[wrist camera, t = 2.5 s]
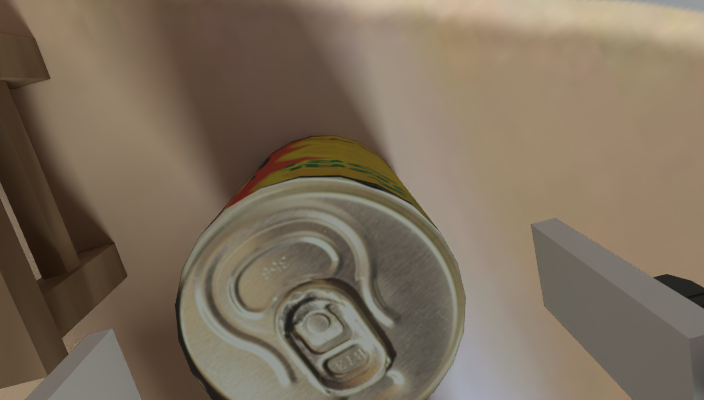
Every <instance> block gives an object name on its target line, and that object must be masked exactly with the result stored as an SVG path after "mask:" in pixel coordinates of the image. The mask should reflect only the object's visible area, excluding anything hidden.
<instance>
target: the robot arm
mask: <svg viewBox="0 0 704 400" xmlns="http://www.w3.org/2000/svg"><path fill="white" fill-rule="evenodd" d="M531 228H532V235H533V241H534V247H535V253H536V259H537V265H538V271H539V277H540V283H541V289H542V295H543V301H544V306H545V307H546V308H547V309H548V310H549V311H550V312H551V313H552V315H553V316H554V317H555V318H556V319H557V320H558V321H559V322H560V323H561V324H562V325H563V326H564V327H565V328H566V329H567V330H568V332H569V333H570V334H571V335H572V336H573V337H574V338H575V339H576V340H577V341H578V342H579V343H580V344H581V345H582V346H583V347H584V349H585V350H586V351H587V352H588V353H589V354H590V355H591V356H592V357H593V358H594V359H595V360H596V361H597V362H598V363H599V364H600V366H601V367H602V368H603V369H604V370H605V371H606V372H607V373H608V374H609V375H610V376H611V377H612V378H613V379H614V380H615V381H616V382H617V384H618V385H619V386H620V387H621V388H622V389H623V390H624V391H625V392H626V393H627V394H628V395H629V396H630V397H631V398H632V399H633V400H704V288H703V287H701V286H700V285H698V284H696V283H694V282H692V281H690V280H686V279H683V278H679V277H675V276H672V275H668V274H665V275H661V276H657V277H651V276H649V275H648V274H646V273H645V272H643V271H641V270H640V269H638V268H636V267H635V266H633V265H631V264H630V263H628V262H627V261H625V260H623V259H622V258H620V257H618V256H617V255H615V254H614V253H612V252H610V251H609V250H607V249H605V248H604V247H602V246H600V245H599V244H597V243H596V242H594V241H592V240H591V239H589V238H587V237H586V236H584V235H582V234H581V233H579V232H578V231H576V230H574V229H573V228H571V227H569V226H568V225H566V224H565V223H563V222H561V221H560V220H558V219H556V218H554V219H550V220H546V221H542V222H538V223H534V224H531ZM25 400H142V399H141V397H140V395H139V392H138V390H137V387H136V385H135V382H134V380H133V378H132V375H131V373H130V370H129V368H128V365H127V363H126V361H125V358H124V356H123V353H122V351H121V349H120V346H119V344H118V341H117V339H116V336H115V334H114V332H113V329H112V328H111V329H107V330H103V331H99V332H95V333H91V334H88V335H87V336H86V337H85V338H84V339H83V340H82V341H81V342H80V343H79V344H78V345H77V346H76V347H75V348H74V349H73V350H72V351H71V352H70V354H69V355H68V356H67V357H66V358H65V359H64V360H63V361H62V362H61V363H60V364H59V365H58V366H57V367H56V368H55V369H54V370H53V371H52V372H51V373H50V374H49V375H48V376H47V377H46V378H45V379H44V380H43V381H42V382H41V383H40V384H39V385H38V386H37V387H36V388H35V389H34V391H33V392H32V393H31V394H30V395H29V396H28V397H27V398H26V399H25Z"/></svg>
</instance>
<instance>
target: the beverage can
mask: <svg viewBox="0 0 704 400" xmlns="http://www.w3.org/2000/svg"><path fill="white" fill-rule="evenodd" d="M465 299H466V297H465V293H464V288H463V284H462V280H461V276H460V271H459V267H458V263H457V261H456V260H455V258H454V256H453V254H452V252H451V251H450V249H449V247H448V245H447V244H446V242H445V240H444V238H443V237H442V235H441V233H440V231H439V230H438V229H437V227H436V226H435V225H434V224H433V222H432V221H431V220H430V218H429V217H428V216H427V215H426V213H425V212H424V211H423V209H422V208H421V207H420V205H419V204H418V203H417V202H416V200H415V199H414V198H413V196H412V195H411V194H410V193H409V191H408V190H407V189H406V187H405V186H404V185H403V183H402V182H401V181H400V180H399V178H398V177H397V176H396V174H395V173H394V172H393V171H392V169H391V168H390V167H389V166H388V165H387V164H386V163H385V162H384V161H383V160H382V159H381V158H380V157H379V156H378V155H377V154H376V153H375V152H374V151H372V150H370V149H368V148H367V147H365V146H363V145H361V144H360V143H358V142H356V141H353V140H349V139H345V138H341V137H337V136H311V137H307V138H304V139H300V140H296V141H293V142H290V143H289V144H287V145H285V146H284V147H282V148H280V149H279V150H277V151H275V152H274V153H272V154H271V155H270V156H269V157H268V158H267V159H266V160H265V161H264V162H263V163H262V165H261V166H260V167H259V168H258V169H257V170H256V171H255V172H254V173H253V175H252V176H251V177H250V178H249V179H248V180H247V182H246V183H245V184H244V185H243V186H242V187H241V189H240V190H239V191H238V192H237V193H236V194H235V196H234V197H233V198H232V199H231V200H230V201H229V203H228V204H227V205H226V206H225V207H224V208H223V210H222V211H221V212H220V213H219V214H218V215H217V217H216V218H215V219H214V220H213V221H212V222H211V224H210V225H209V226H208V227H207V228H206V230H205V231H204V232H203V233H202V234H201V235H200V237H199V238H198V240H197V242H196V244H195V246H194V248H193V250H192V252H191V254H190V256H189V257H188V259H187V261H186V263H185V265H184V267H183V269H182V273H181V278H180V283H179V288H178V293H177V298H176V304H175V308H176V318H177V329H178V339H179V342H180V345H181V347H182V350H183V352H184V355H185V357H186V360H187V362H188V365H189V367H190V370H191V372H192V374H193V375H194V376H195V378H196V379H197V380H198V381H199V383H200V384H201V385H202V387H203V388H204V389H205V391H206V392H207V393H208V394H209V396H210V397H211V398H212V400H426V399H427V398H428V397H429V396H430V395H431V394H432V393H433V392H434V391H435V390H436V388H437V387H438V385H439V384H440V382H441V381H442V379H443V378H444V376H445V375H446V373H447V372H448V370H449V369H450V367H451V366H452V364H453V362H454V359H455V356H456V353H457V350H458V347H459V344H460V341H461V338H462V335H463V332H464V319H465Z"/></svg>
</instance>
